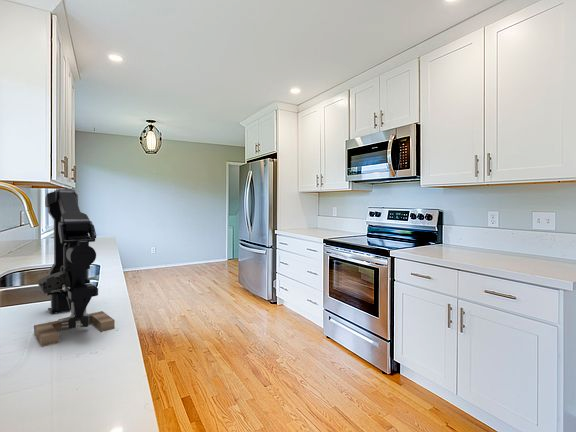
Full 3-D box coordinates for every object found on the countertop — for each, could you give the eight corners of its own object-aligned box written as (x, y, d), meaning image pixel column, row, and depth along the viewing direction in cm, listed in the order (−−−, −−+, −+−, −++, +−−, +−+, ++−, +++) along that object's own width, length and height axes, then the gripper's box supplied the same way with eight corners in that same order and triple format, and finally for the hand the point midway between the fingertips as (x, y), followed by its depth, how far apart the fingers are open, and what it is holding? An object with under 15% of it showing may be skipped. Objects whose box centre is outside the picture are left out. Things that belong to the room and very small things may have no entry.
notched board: (34, 334, 87) (34, 323, 87) (102, 318, 100) (102, 309, 99) (41, 346, 80) (41, 335, 79) (114, 328, 92) (114, 318, 92)
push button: (60, 332, 85) (59, 295, 85) (63, 325, 90) (63, 291, 90) (89, 327, 88) (88, 292, 88) (90, 322, 93) (90, 288, 93)
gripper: (33, 260, 89) (34, 315, 89) (47, 270, 76) (47, 334, 77) (79, 256, 97) (79, 306, 97) (98, 265, 84) (98, 322, 85)
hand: (76, 316), depth 89 cm, fingers closed on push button, 4 cm apart
